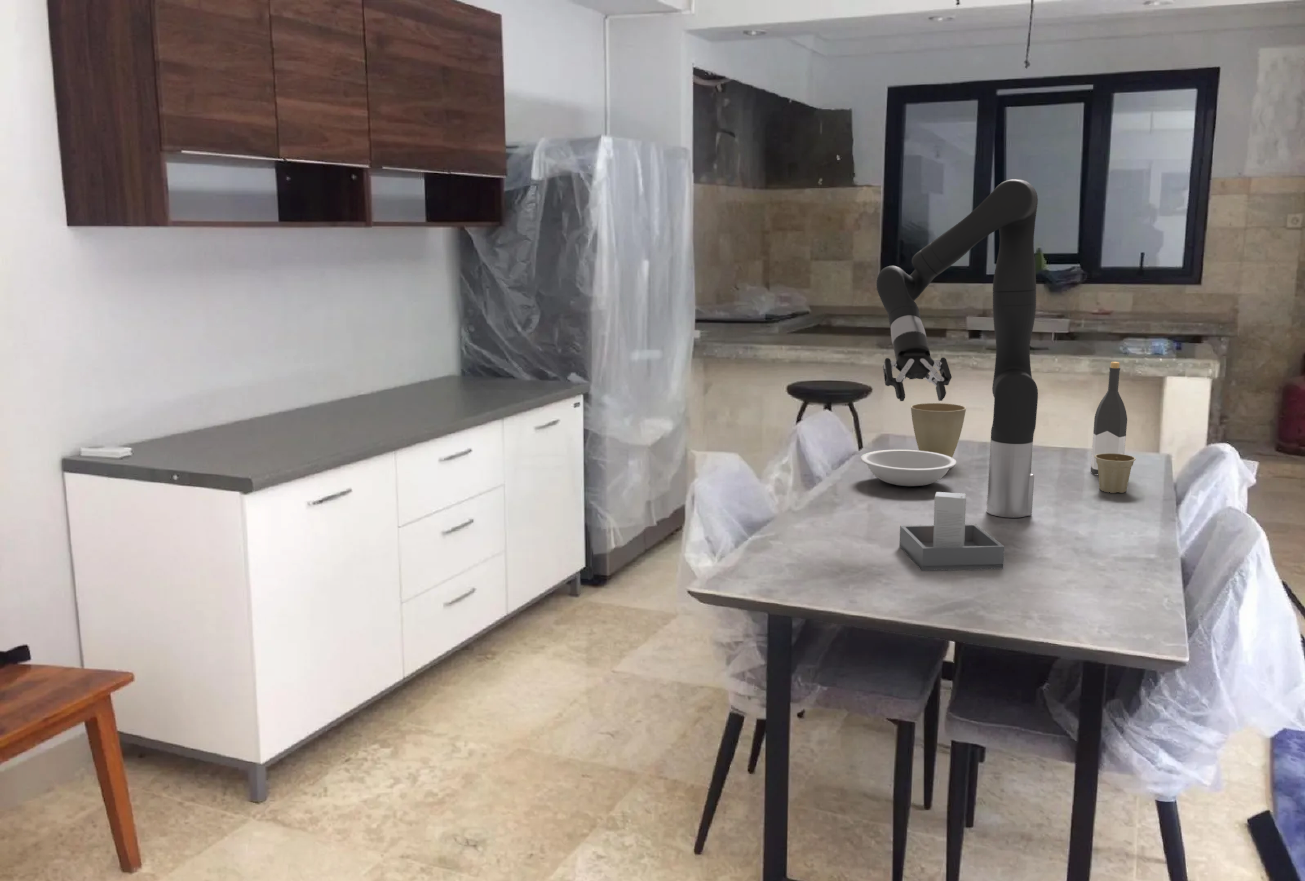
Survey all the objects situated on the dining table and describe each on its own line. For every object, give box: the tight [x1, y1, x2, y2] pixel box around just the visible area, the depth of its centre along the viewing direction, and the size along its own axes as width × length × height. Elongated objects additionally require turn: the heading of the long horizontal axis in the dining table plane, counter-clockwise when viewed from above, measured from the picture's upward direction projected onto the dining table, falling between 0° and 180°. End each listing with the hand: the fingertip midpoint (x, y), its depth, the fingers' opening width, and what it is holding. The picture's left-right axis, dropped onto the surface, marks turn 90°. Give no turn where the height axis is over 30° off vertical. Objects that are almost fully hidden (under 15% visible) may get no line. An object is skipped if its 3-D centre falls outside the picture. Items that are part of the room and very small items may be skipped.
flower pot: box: [1095, 453, 1137, 494], centre depth 266 cm, size 9×9×9 cm
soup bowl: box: [860, 449, 957, 487], centre depth 275 cm, size 24×24×7 cm
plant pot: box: [910, 402, 967, 458], centre depth 298 cm, size 15×15×16 cm
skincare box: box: [933, 491, 967, 547], centre depth 213 cm, size 6×4×12 cm
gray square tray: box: [898, 523, 1005, 572], centre depth 214 cm, size 16×16×4 cm
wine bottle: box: [1090, 361, 1128, 475], centre depth 282 cm, size 8×8×30 cm
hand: (922, 398), depth 231 cm, fingers open, 8 cm apart
